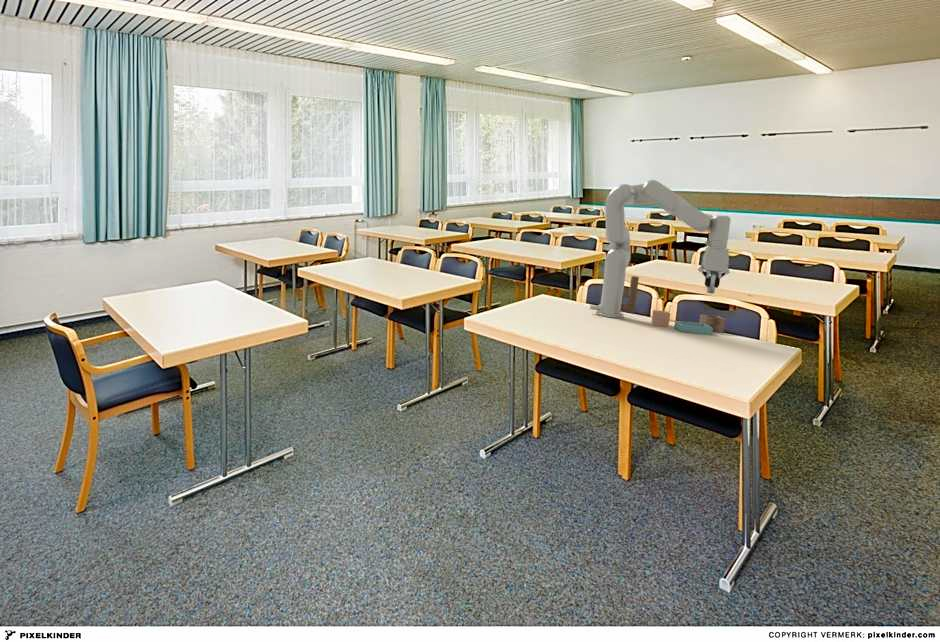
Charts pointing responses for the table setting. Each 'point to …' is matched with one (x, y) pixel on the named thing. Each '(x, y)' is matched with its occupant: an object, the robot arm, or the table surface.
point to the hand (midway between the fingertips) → (711, 286)
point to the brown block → (713, 322)
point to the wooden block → (630, 296)
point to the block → (660, 318)
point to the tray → (693, 327)
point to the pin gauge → (712, 282)
